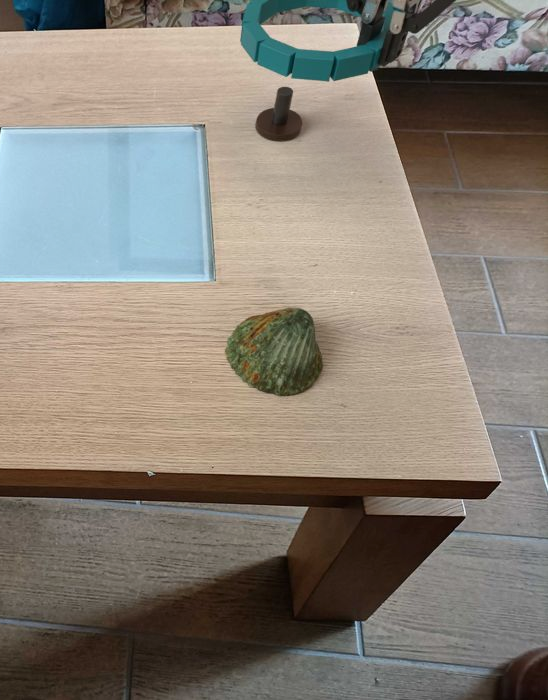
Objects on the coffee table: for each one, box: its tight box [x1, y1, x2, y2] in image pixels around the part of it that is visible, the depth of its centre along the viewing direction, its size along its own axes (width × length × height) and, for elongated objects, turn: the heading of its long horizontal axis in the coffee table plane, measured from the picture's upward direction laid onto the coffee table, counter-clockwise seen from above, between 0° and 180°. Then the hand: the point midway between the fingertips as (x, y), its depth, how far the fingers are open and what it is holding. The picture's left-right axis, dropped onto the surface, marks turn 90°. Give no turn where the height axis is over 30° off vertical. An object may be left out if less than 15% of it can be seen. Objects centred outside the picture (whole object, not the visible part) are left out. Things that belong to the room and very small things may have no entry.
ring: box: [239, 0, 394, 82], centre depth 73 cm, size 16×16×2 cm
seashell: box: [224, 307, 324, 397], centre depth 68 cm, size 10×4×10 cm
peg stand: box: [255, 86, 303, 142], centre depth 88 cm, size 6×6×6 cm
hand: (375, 58), depth 70 cm, fingers closed on ring, 1 cm apart
